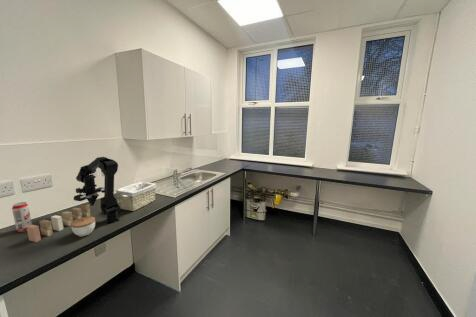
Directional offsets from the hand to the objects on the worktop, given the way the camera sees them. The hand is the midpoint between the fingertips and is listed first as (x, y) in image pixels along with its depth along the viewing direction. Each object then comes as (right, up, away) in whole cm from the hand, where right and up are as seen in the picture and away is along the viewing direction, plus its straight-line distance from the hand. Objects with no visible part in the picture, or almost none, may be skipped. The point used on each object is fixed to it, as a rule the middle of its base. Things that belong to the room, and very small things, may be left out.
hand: (92, 205), depth 134 cm
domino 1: (-7, -10, -25) cm, 28 cm away
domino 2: (-6, -9, -19) cm, 22 cm away
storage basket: (+23, -3, +16) cm, 29 cm away
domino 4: (-3, -7, -9) cm, 12 cm away
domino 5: (-1, -6, -4) cm, 7 cm away
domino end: (-8, -11, -30) cm, 33 cm away
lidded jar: (+13, -11, -23) cm, 28 cm away
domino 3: (-4, -8, -14) cm, 17 cm away
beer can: (-24, -9, -21) cm, 33 cm away
